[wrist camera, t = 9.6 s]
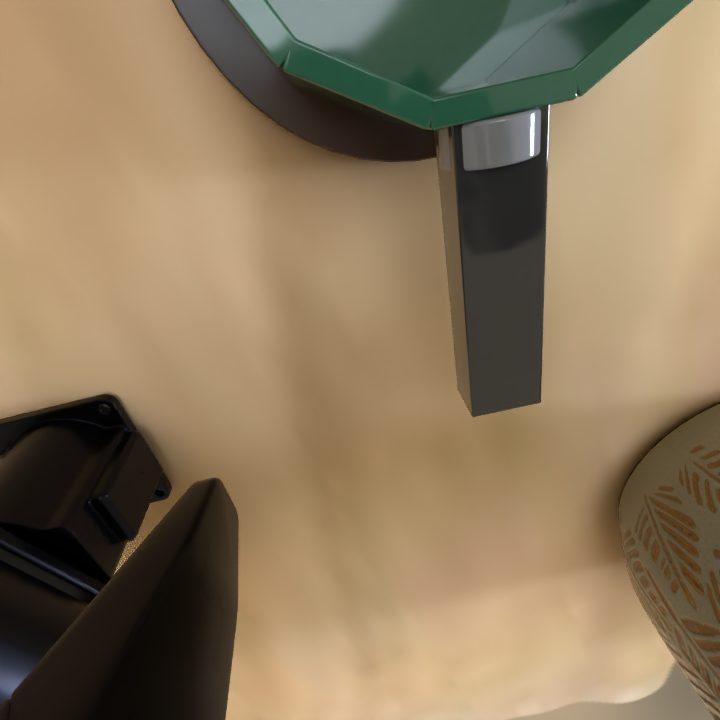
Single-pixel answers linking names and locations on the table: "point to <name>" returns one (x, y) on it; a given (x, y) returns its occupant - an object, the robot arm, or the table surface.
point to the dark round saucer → (296, 93)
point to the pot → (468, 135)
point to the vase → (680, 547)
